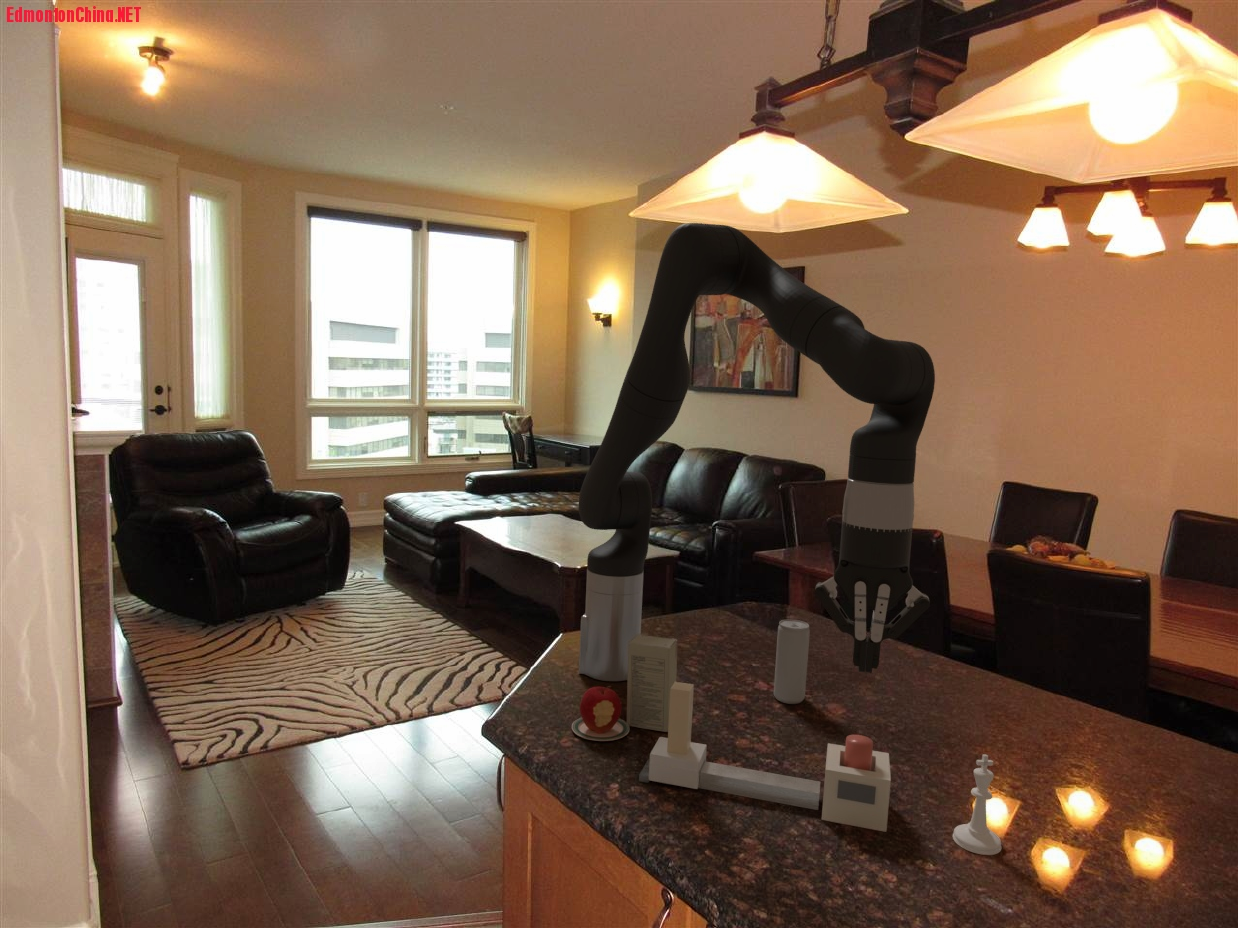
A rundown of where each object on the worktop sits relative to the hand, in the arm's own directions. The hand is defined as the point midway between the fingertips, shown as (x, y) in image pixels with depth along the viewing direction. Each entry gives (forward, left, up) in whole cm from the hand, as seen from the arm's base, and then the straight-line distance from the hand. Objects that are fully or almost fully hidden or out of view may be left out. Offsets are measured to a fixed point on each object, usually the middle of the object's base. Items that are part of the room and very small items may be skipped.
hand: (865, 670), depth 94 cm
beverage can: (-10, +31, -17) cm, 37 cm away
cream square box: (0, 0, -17) cm, 17 cm away
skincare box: (-28, +14, -17) cm, 36 cm away
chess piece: (+13, -2, -17) cm, 22 cm away
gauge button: (0, 0, -13) cm, 13 cm away
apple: (-34, +9, -17) cm, 39 cm away
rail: (-14, 0, -17) cm, 22 cm away
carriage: (-21, 0, -17) cm, 27 cm away
